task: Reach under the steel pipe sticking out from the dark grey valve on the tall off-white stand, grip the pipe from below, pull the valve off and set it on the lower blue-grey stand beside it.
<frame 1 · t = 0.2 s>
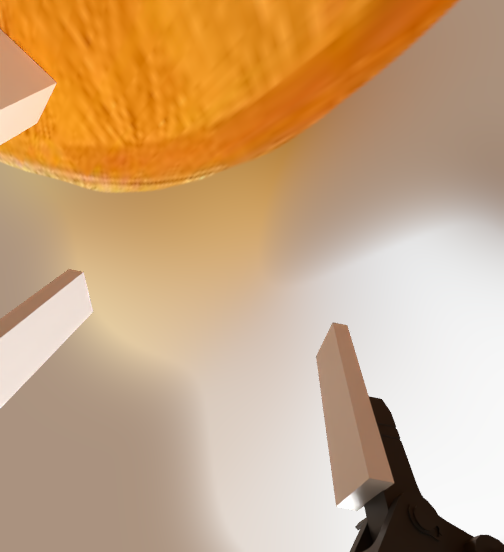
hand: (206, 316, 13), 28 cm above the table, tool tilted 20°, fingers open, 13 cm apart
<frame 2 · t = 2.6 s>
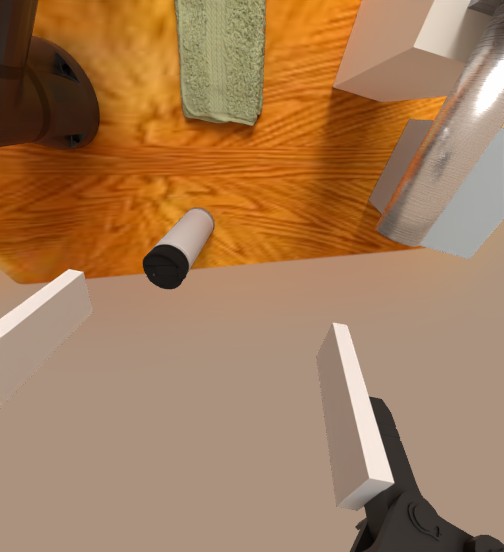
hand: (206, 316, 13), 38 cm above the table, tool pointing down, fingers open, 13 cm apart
washcloth: (223, 54, 37), on the table
low stand: (409, 169, 43), on the table
travel mug: (200, 221, 52), on the table
tall stand: (381, 33, 34), on the table
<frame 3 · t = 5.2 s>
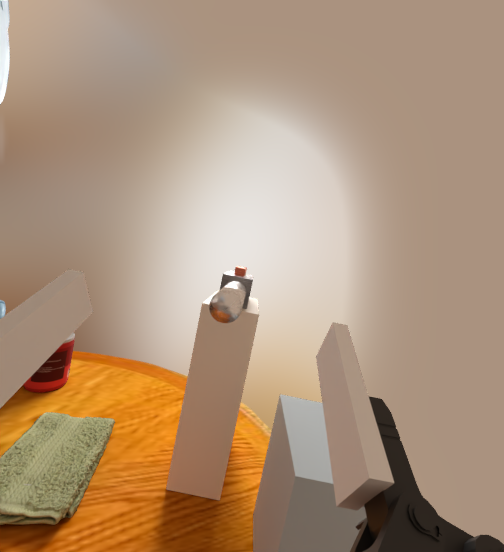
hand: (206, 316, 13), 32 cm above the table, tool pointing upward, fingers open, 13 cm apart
washcloth: (50, 469, 37), on the table
tall stand: (202, 457, 43), on the table
canned food: (45, 384, 54), on the table
pipe valve: (231, 306, 37), point 28 cm above the table, touching tall stand
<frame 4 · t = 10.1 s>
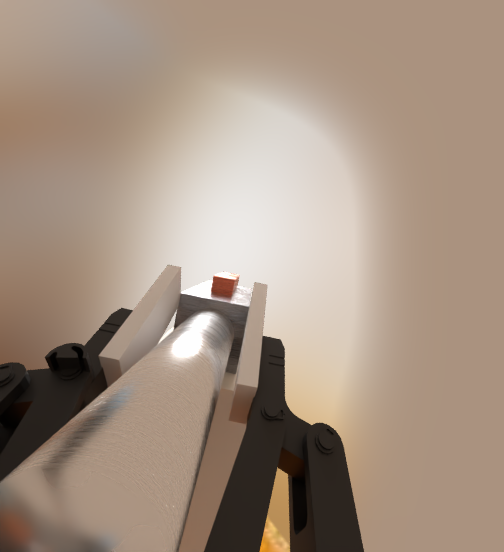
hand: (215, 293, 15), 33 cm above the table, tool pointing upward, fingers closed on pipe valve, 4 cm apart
pipe valve: (201, 367, 16), point 28 cm above the table, touching gripper, tall stand
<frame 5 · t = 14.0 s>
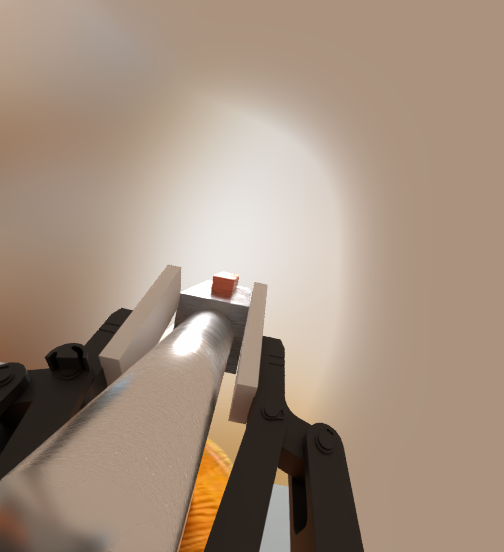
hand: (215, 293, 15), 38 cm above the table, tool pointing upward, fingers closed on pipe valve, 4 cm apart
pipe valve: (201, 367, 16), point 33 cm above the table, touching gripper
when the fingers open (26 cm above the table, at t = 18.0 s): pipe valve drops 3 cm, resting on low stand.
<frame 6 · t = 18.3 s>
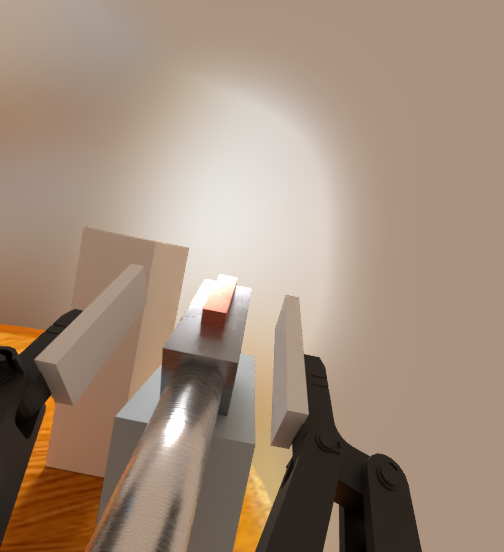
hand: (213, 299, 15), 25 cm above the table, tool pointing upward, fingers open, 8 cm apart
tall stand: (113, 431, 36), on the table
pipe valve: (193, 409, 16), point 18 cm above the table, tilted 19°, touching low stand
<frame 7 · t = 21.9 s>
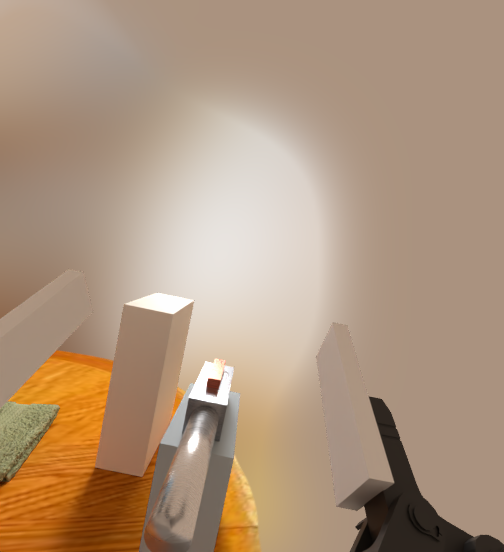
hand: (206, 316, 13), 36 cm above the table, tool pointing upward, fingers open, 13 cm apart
low stand: (182, 537, 34), on the table
tall stand: (138, 441, 49), on the table
pipe valve: (200, 437, 29), point 18 cm above the table, touching low stand
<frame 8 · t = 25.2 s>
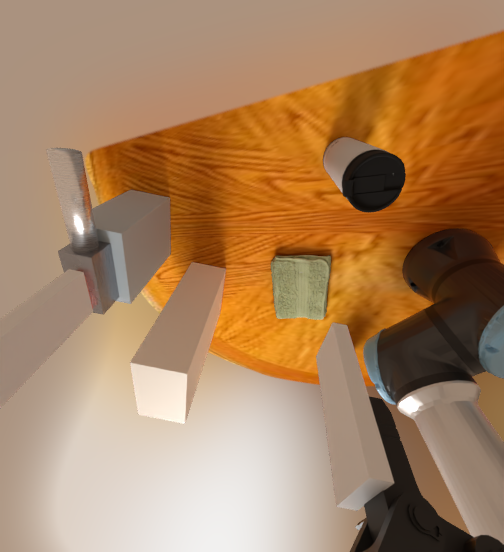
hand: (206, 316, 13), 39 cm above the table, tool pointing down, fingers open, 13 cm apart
washcloth: (299, 284, 59), on the table
low stand: (152, 223, 54), on the table
travel mug: (340, 157, 43), on the table
tall stand: (206, 289, 62), on the table
pipe valve: (95, 240, 36), point 18 cm above the table, touching low stand
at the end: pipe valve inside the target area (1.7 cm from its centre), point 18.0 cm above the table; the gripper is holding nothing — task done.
